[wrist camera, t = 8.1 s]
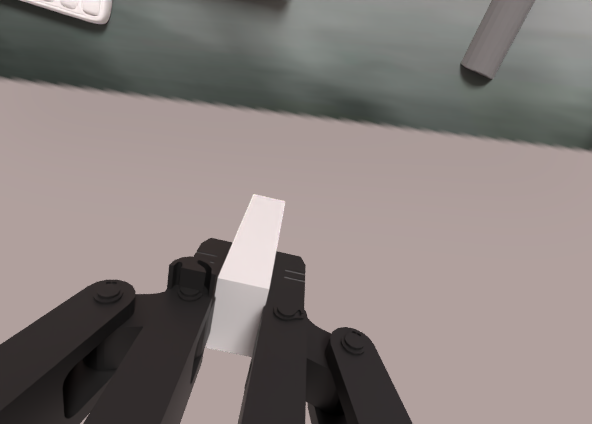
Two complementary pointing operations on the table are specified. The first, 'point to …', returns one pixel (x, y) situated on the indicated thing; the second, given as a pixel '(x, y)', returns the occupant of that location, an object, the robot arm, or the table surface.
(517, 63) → the table surface
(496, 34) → the gray half cylinder
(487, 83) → the table surface
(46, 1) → the calculator
